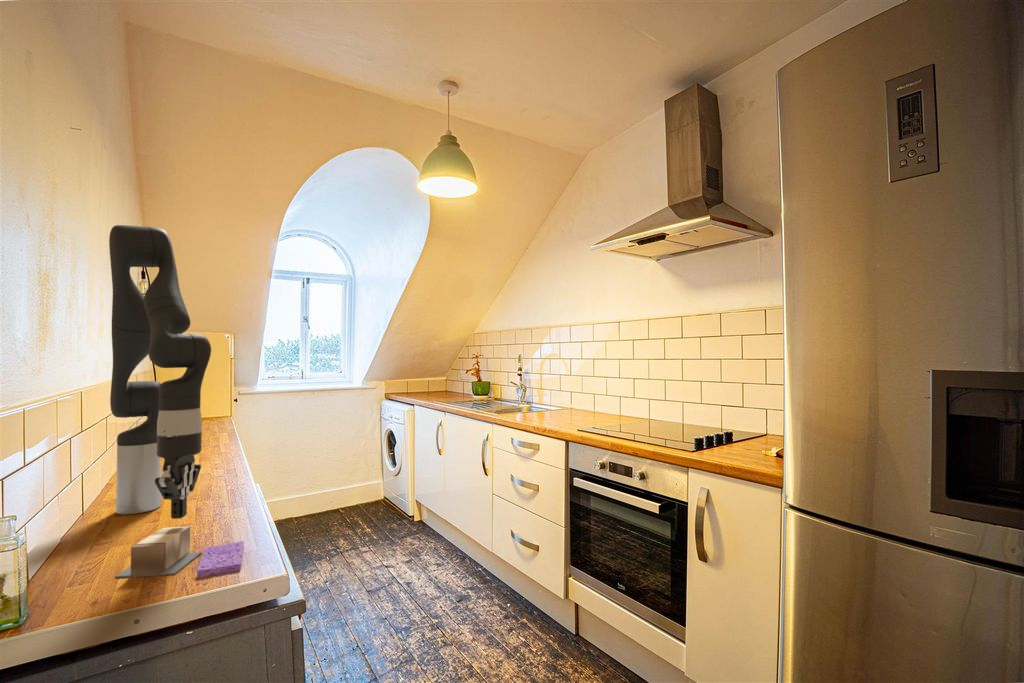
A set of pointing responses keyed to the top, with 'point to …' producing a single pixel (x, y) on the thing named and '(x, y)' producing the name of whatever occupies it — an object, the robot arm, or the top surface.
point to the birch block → (160, 550)
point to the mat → (169, 571)
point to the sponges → (221, 559)
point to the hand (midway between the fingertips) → (178, 517)
